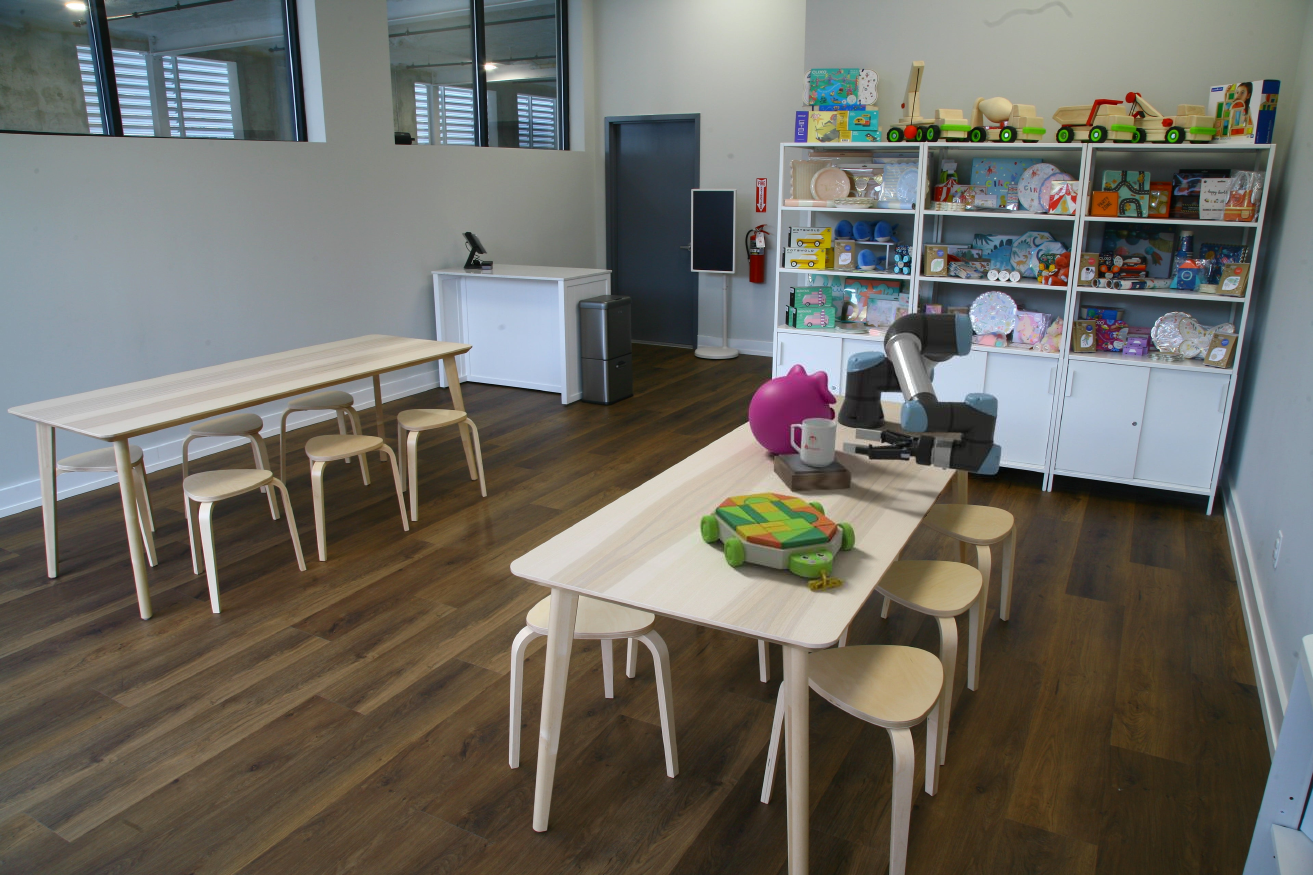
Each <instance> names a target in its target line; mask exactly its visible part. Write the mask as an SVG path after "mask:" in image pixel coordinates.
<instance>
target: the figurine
mask: <svg viewBox="0 0 1313 875" xmlns="http://www.w3.org/2000/svg"><path fill="white" fill-rule="evenodd" d="M787 372H788V373H787V374H786V375H784V376H779V377H778V376H777V377H775V378H773V379H770V380H768V381H766V382H765V383H763V384H762V385H761V386H760V387H759V388H758V389H757V390H756V391H755V393H754V395H753V396H752V399H751V401H750V403H749V409H748V423H749V426H750V430H751V432H752V435H753V437H754V439H755V440H756V441H757V442H758V443H759V445H760V446H761V447H763V448H764V449H766V450H767V451H769V452H771V453H774V454H776V455H786V454H800V453H799V452H798V451H797V450H796V449H795V448H794V447H793V446H792V445H791V425H792V424H801V425H802V422H803V421H804V420H806V419H811V418H822V419H828V420H832V421H834V420H835V418H836V411H835V410H834V408H833V407H830V405H836V403H837V402H838V401H837V399H836V397H835V395H834V394H833V393H832V392H831V390H829V377H828V373H827V372H825V370H819V371H817V372H814V373H812V374H809V375H808V373H807V371H806V369H805V368H804V366H803V365H801V364H799V363H798V364H795V365H793V366H792V367H791V368H790V369H789V371H787ZM801 438H802V429H801V428H800V427H798V426H796V427H794V443H795V444H796V445H797V446H798V447H799V448H800V449H801Z"/></svg>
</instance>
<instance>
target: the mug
mask: <svg viewBox="0 0 1313 875" xmlns="http://www.w3.org/2000/svg"><path fill="white" fill-rule="evenodd" d="M796 426H798V427H800V428H801V429H802V438H801V449H800V448H799V447H798V446H797V445H796V444H795V443H794V427H796ZM836 437H837V422H836V421H834V420H828V419H822V418H811V419H806V420H804V421H803V422H802V425H801V424H792V425H791V445H792V446H793V447H794V448H795V449H796V450H797V451H798V452H799V453H800V458H801V460H802V461H803V463H804V464H806V465H808V466H813V467H826V466H829V465H830V464H831V463H832V462H833V461H834V458H835V455H836V454H835V451H836Z"/></svg>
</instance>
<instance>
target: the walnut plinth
mask: <svg viewBox="0 0 1313 875" xmlns="http://www.w3.org/2000/svg"><path fill="white" fill-rule="evenodd" d="M773 472H774V473H775V475H777V477H778V478H779V479H780V480H781V481H782V482H783V484H784V485H785V486H786V487H787V488H788V489H789V490H790V492H801V491H805V492H806V491H818V490H820V491H821V490H823V491H824V490H839V489H840V490H842V489H843V490H845V489H846V490H847V489H851V481H852V472H851V471H850V470H849V469H848V468H847V467H846V466H844V465H843V463H841V462H840V461H839V460H838V459H837V458H836V457H834V461H833V462H832V463H831V464H830V465H829V466H826V467H813V466H808V465H806V464H804V463H803V461H802V460H801V458H800V454H786V455H780V454H778V455H774V459H773Z"/></svg>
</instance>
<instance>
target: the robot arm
mask: <svg viewBox="0 0 1313 875" xmlns="http://www.w3.org/2000/svg"><path fill="white" fill-rule="evenodd" d="M972 323H973V322H972V319H971V316H970V315H968V314H966V313H960V312H955V313H945V312H943V313H940V312H939V313H938V312H937V313H934V312H933V313H931V312H911V313H907V314H904V315H902V316H900V317H898V318H897V319H896V320H895V321H893V322H892V323H891V325H890V326H889V327H888V329H887V330H886V332H885V335H884V339H883V350H884V352H885V353H884V352H882V351H875V350H874V351H873V350H872V351H861V352H857V353H854V354H852V355H850V356H849V357H848V359H847V366H846V369H845V371H846V375H845V376H846V378H845V392H844V398H843V402H842V404H841V407H840V409H839V411H838V414H837V422H838V423H839V424H841V425H843V426H847V427H851V428H855V439H856V440H857V439H858V440H865V441H871V442H877V443H880V444H885V443H886V444H888V445H873V444H871V443H868V444H865V443H859V442H851V441H843V443H842V453H845V454H851V455H852V454H853V455H857V456H866V457H868V459H869V460H872V461H874V460H875V461H895V460H896V461H907V462H909V461H910V458H912V457H914V459H915V463H916V465H921V466H927V467H930V466H932V465H933V467H935V468H941V469H942V470H943V471H946V470H947V469H948V470H955V471H961V472H967V473H973V474H977V475H979V474H980V475H996V474H997V473H998V472H999V468H1000V465H1001V459H1002V458H1001V456H1002V446H1001V445H1000V444H996V443H994V442H995V441H994V436H995V431H996V426H997V418H998V411H999V410H998V409H999V408H998V407H999V403H998V402H999V401H998V399H997V397H995V396H994V395H993V394H989V393H984V392H973V393H972V392H970V393H968V394H966V395H965V398H964V401H939V400H938V397H937V395H936V394H937V393H936V392H935V389H934V386H933V384H932V383H934V377H935V367H936V366H937V365H938V364H939V363H944V362H948V361H949V360H951V359H952V358H954V357H956V356H957V357H958V356H959V357H964V356H969V354H970V353H971V350H972V344H973V324H972ZM882 393H901V394H902V395H903V398H904V402H903V403H902V405H901V408H900V425H901V426H900V427H901V429H902V430H904V431H905V432H911V433H917V434H921V435H919V436H913V435H910V434H909V435H908V434H905V433H902V432H898V431H895V430H892V429H885V430H882V431H881V430H875V429H874V428H880V427H883V426H884V425H885V417H886V416H885V413H884V409H883V405H882ZM873 429H874V430H873ZM923 433H926V434H927V433H932V434H933V433H938V434H939V433H940V434H941V433H945V434H948V433H949V434H960V439H956V438H949V437H942V436H937V437H935V436H932V435H925V434H923Z"/></svg>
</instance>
